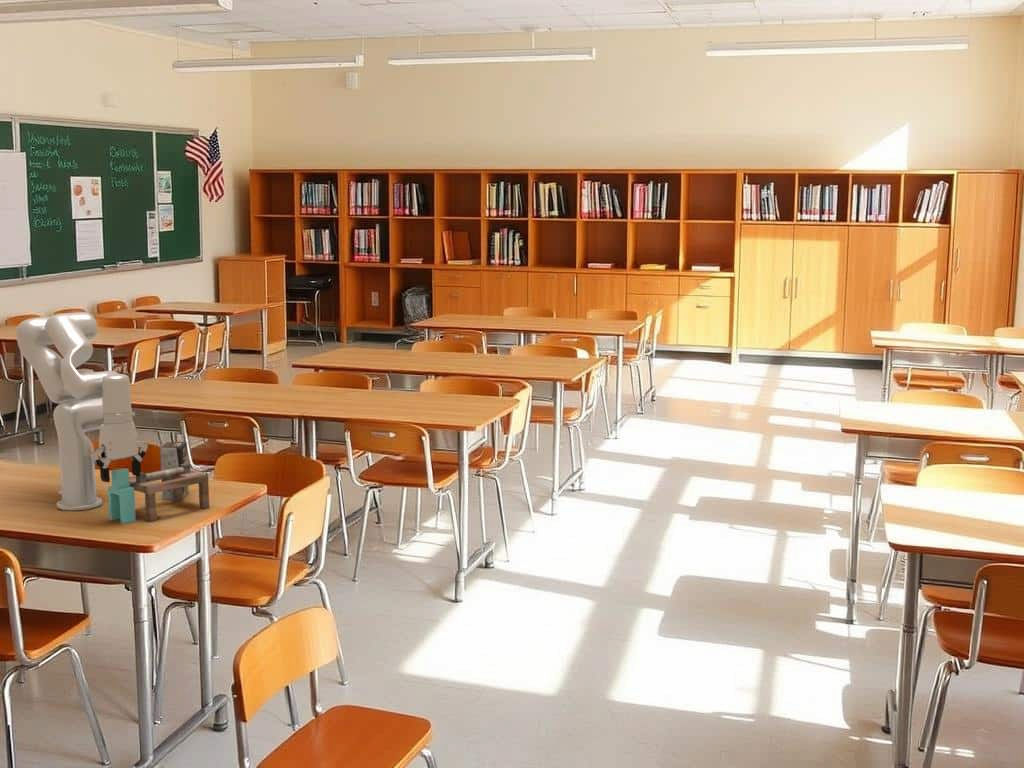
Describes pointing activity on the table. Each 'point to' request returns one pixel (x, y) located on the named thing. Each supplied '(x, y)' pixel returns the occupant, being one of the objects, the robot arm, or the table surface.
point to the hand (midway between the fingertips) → (121, 478)
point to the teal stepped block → (121, 497)
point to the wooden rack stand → (170, 486)
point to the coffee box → (173, 462)
